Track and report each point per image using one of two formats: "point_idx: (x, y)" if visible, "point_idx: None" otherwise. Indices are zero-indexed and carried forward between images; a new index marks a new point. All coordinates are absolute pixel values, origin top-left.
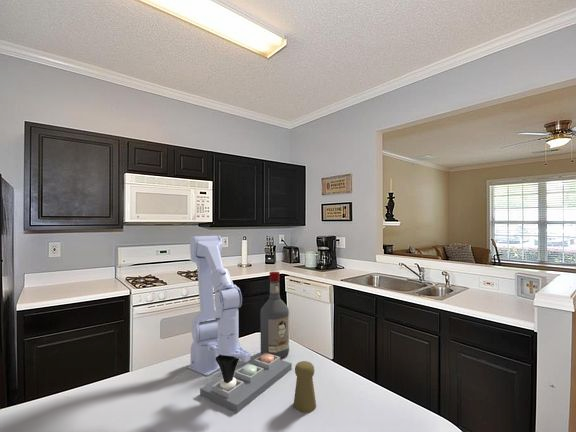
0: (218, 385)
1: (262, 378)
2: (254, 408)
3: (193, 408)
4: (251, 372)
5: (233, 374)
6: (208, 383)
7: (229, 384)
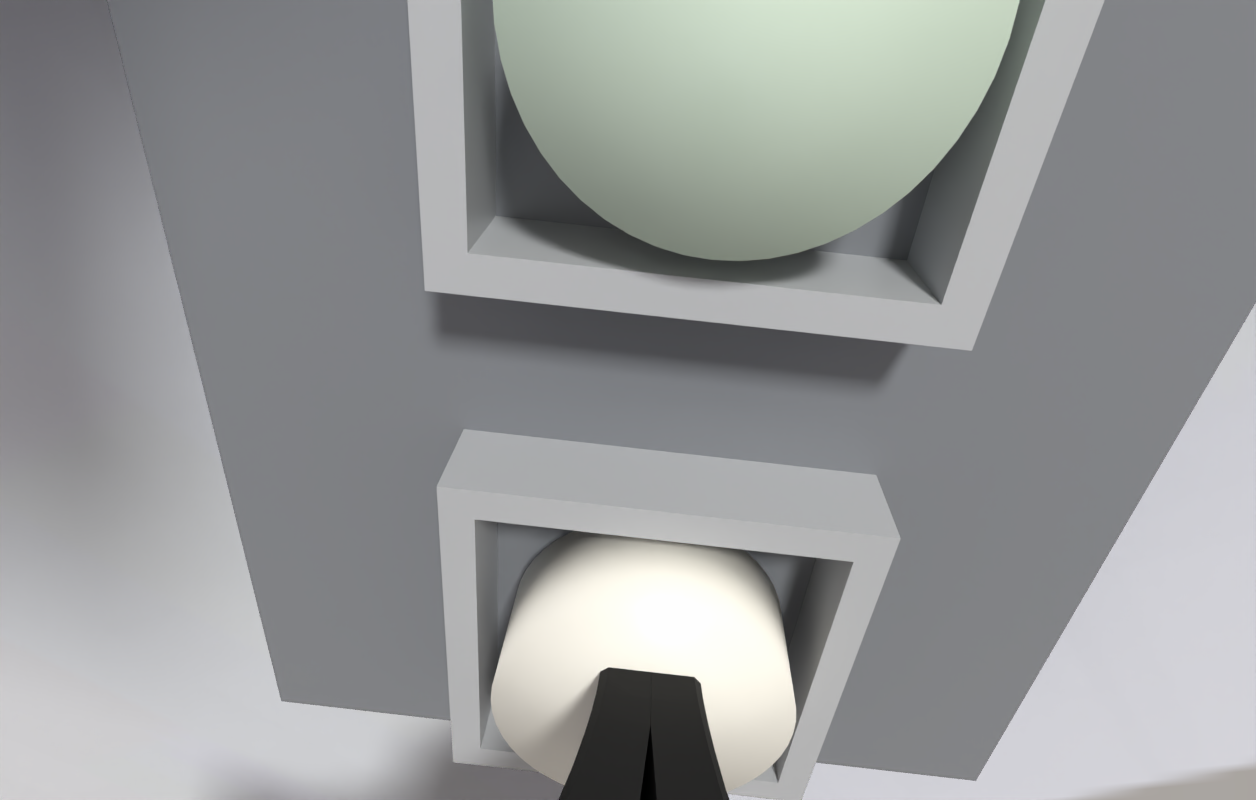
0: (486, 665)
1: (1195, 4)
2: (1133, 580)
3: None
4: (918, 177)
5: (719, 778)
6: (262, 599)
7: (735, 773)
